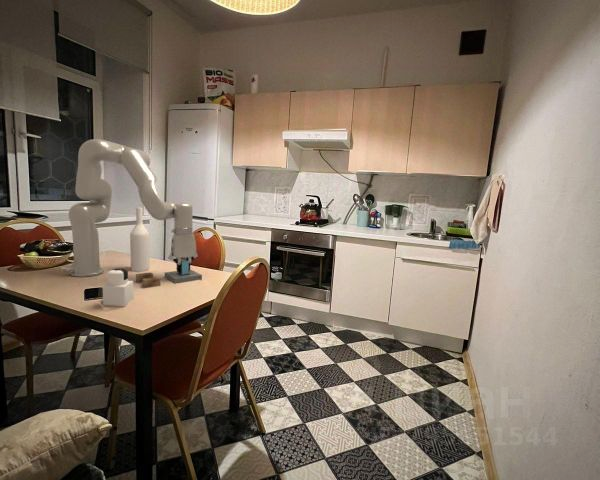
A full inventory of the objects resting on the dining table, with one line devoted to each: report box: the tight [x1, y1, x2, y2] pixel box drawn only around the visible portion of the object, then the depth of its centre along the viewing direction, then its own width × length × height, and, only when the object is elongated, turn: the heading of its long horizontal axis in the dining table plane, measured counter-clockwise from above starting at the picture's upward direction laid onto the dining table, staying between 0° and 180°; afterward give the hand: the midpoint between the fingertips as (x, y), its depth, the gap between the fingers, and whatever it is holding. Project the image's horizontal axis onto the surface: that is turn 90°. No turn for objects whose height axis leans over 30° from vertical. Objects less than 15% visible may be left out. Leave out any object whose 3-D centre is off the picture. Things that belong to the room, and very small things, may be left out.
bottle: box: [129, 207, 150, 272], centre depth 151 cm, size 8×8×30 cm
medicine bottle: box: [101, 267, 135, 308], centre depth 109 cm, size 7×7×12 cm
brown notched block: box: [135, 272, 161, 289], centre depth 132 cm, size 6×11×4 cm, turn 44°
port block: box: [163, 268, 203, 285], centre depth 142 cm, size 12×12×2 cm
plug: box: [180, 258, 189, 275], centre depth 141 cm, size 3×4×6 cm
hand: (183, 271), depth 142 cm, fingers closed on plug, 2 cm apart
